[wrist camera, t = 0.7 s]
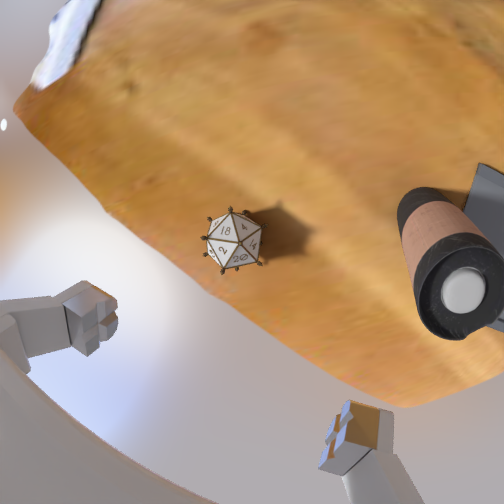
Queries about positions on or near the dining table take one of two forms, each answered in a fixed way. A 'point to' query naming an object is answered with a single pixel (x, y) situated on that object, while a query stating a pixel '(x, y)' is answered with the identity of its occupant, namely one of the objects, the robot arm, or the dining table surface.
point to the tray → (488, 212)
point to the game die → (233, 240)
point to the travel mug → (449, 266)
